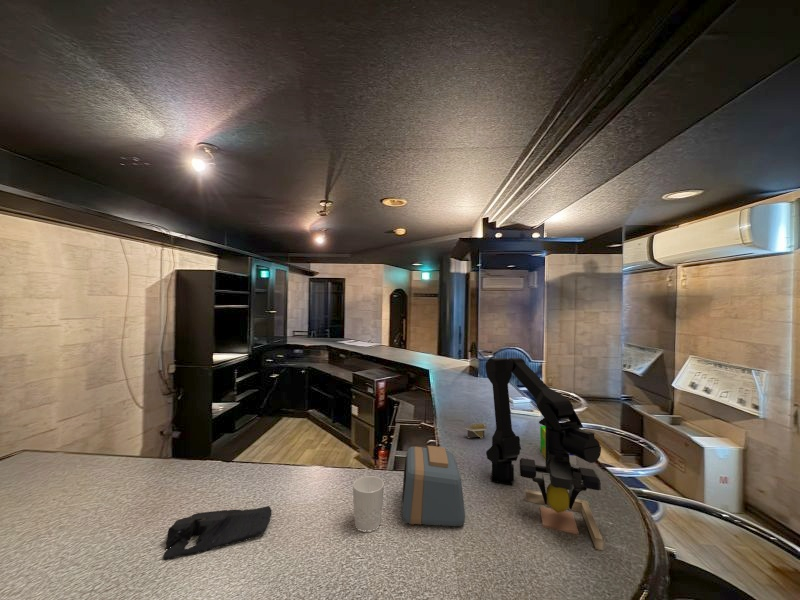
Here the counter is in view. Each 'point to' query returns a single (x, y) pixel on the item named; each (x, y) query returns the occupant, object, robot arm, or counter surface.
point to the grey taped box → (432, 488)
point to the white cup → (368, 502)
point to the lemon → (557, 498)
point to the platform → (476, 430)
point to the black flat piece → (215, 530)
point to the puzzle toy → (543, 450)
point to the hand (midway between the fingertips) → (557, 506)
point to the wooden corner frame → (567, 518)
